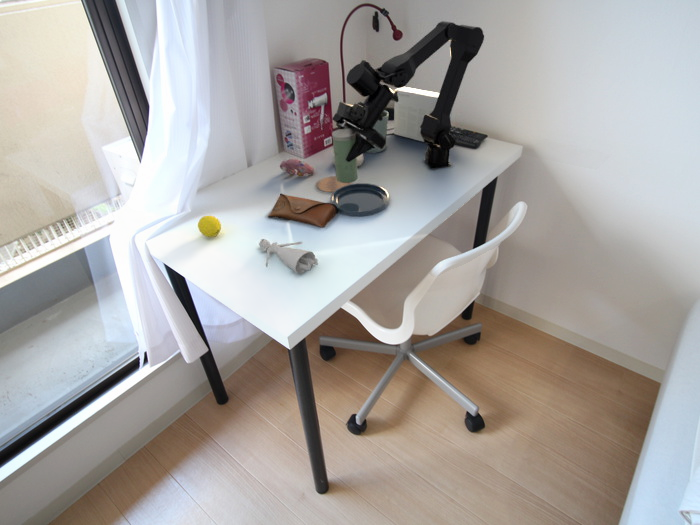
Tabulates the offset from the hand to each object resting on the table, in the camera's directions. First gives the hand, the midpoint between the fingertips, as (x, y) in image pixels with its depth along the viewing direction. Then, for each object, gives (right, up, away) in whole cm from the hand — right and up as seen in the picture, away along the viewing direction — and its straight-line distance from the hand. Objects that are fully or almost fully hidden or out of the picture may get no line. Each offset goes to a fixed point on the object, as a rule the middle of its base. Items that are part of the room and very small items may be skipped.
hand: (341, 157), depth 116 cm
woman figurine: (-12, -28, -15) cm, 34 cm away
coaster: (-2, -5, +13) cm, 14 cm away
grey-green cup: (+11, +11, +34) cm, 37 cm away
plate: (+5, -12, +4) cm, 13 cm away
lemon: (-33, -21, -5) cm, 40 cm away
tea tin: (+2, -5, +5) cm, 7 cm away
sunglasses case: (-10, -16, 0) cm, 19 cm away
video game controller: (-14, -1, +20) cm, 25 cm away
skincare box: (+28, +16, +38) cm, 50 cm away
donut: (+2, +4, +24) cm, 25 cm away
